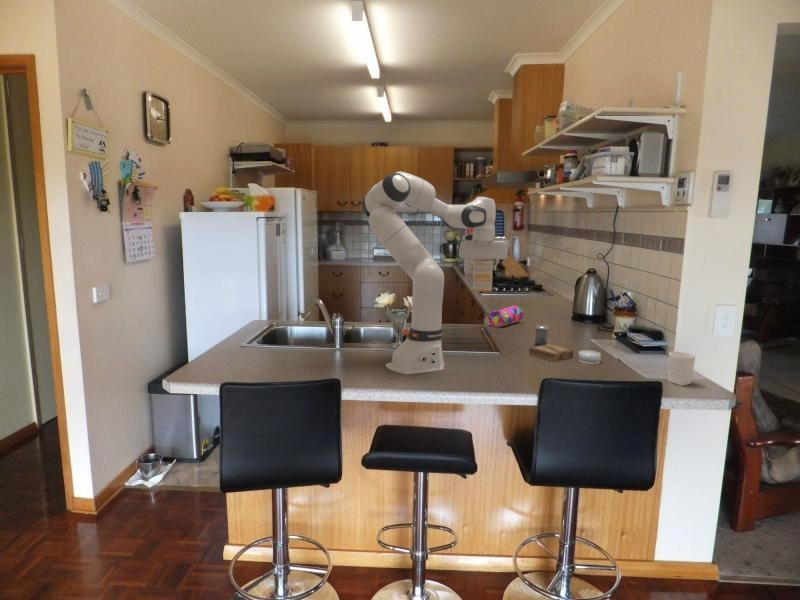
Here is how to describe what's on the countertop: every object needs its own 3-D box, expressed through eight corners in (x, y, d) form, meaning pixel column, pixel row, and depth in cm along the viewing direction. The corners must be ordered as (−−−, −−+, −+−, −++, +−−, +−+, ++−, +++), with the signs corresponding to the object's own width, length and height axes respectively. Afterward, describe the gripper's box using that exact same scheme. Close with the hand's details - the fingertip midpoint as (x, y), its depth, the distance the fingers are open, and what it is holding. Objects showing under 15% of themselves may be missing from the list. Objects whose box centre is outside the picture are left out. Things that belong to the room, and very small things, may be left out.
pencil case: (503, 329, 258) (504, 311, 257) (486, 326, 264) (487, 309, 263) (524, 322, 275) (524, 305, 273) (508, 320, 281) (508, 303, 279)
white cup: (670, 385, 176) (673, 356, 175) (663, 378, 184) (665, 350, 182) (695, 387, 175) (699, 358, 173) (687, 379, 183) (690, 352, 181)
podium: (553, 362, 202) (553, 354, 201) (528, 355, 211) (529, 347, 211) (572, 357, 209) (573, 349, 208) (547, 351, 218) (548, 343, 218)
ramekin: (592, 365, 198) (593, 356, 198) (574, 361, 205) (574, 352, 204) (604, 362, 203) (604, 353, 203) (586, 357, 210) (586, 349, 209)
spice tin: (541, 348, 222) (542, 328, 221) (531, 345, 227) (532, 325, 225) (549, 346, 226) (551, 326, 224) (539, 344, 230) (541, 324, 228)
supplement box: (491, 290, 223) (492, 259, 221) (491, 292, 218) (493, 260, 216) (472, 289, 224) (473, 259, 222) (471, 291, 219) (473, 260, 217)
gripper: (509, 236, 218) (507, 269, 221) (460, 235, 223) (459, 267, 225) (509, 237, 212) (507, 271, 214) (458, 236, 217) (457, 269, 219)
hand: (482, 269), depth 220 cm, fingers closed on supplement box, 8 cm apart
